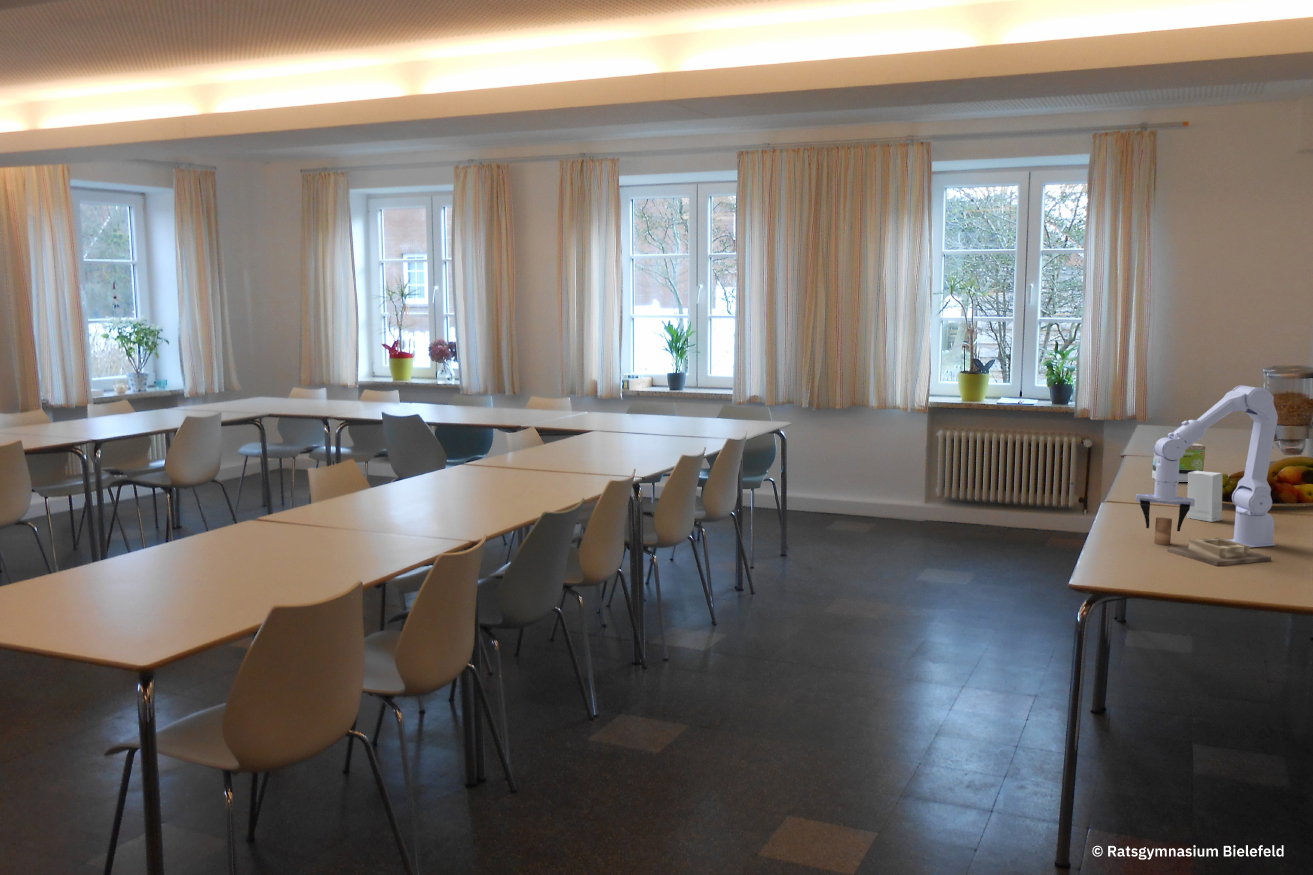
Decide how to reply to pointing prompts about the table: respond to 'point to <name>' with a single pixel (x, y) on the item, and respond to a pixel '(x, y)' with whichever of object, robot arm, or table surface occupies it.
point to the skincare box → (1205, 495)
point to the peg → (1163, 530)
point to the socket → (1219, 552)
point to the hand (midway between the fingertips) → (1163, 529)
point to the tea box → (1187, 461)
